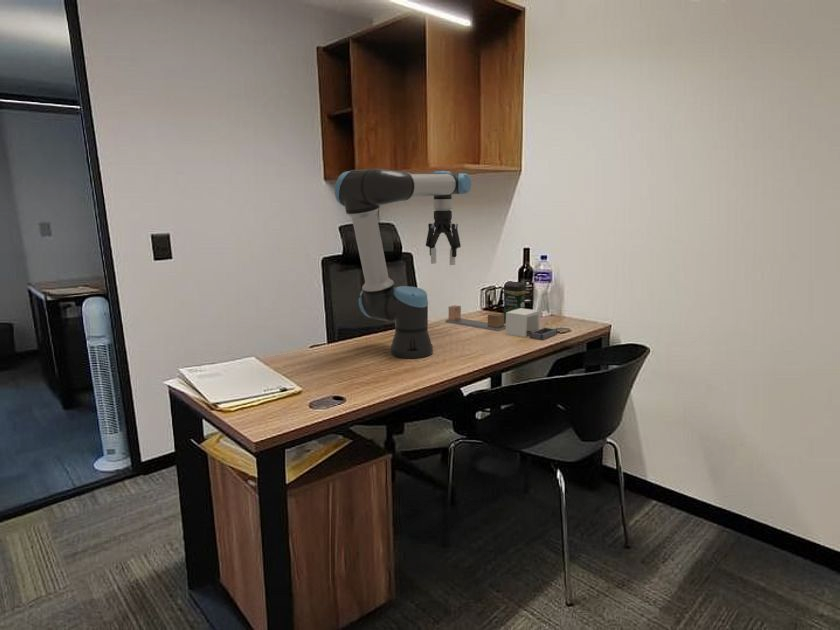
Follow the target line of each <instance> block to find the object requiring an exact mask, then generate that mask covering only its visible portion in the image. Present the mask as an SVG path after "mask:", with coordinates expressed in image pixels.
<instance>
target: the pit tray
mask: <svg viewBox="0 0 840 630" xmlns="http://www.w3.org/2000/svg"><path fill="white" fill-rule="evenodd" d="M557 332H558V329H556V328H550V327H543V328H539V330H537V331H534V332H531V331H530V333H529V339H532V340H538V341H545V340H546V339H550V338H552V337H554V336H557V335H558V333H557Z"/></svg>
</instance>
